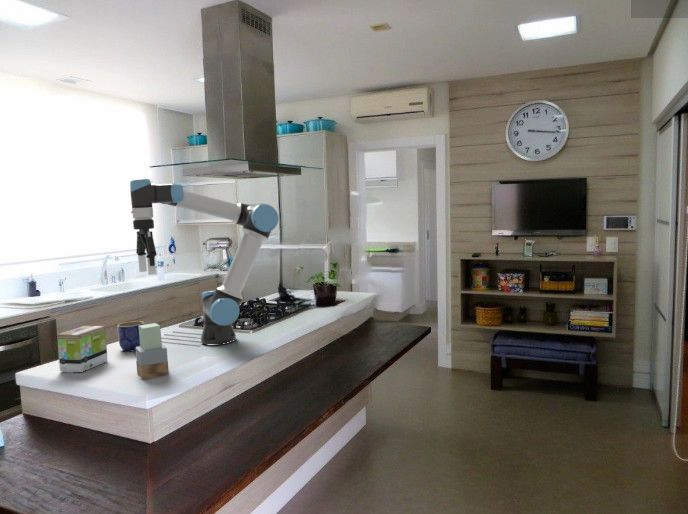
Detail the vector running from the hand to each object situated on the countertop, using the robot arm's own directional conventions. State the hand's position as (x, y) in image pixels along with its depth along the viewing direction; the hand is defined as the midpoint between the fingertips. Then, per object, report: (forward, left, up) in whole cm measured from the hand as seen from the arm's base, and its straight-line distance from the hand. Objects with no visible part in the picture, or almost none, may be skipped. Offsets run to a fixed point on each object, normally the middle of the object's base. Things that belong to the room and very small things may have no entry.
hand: (147, 273), depth 203 cm
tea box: (+24, -9, -35) cm, 43 cm away
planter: (+3, -23, -35) cm, 42 cm away
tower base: (+6, +20, -35) cm, 41 cm away
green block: (+6, +20, -25) cm, 32 cm away
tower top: (+6, +20, -30) cm, 36 cm away
